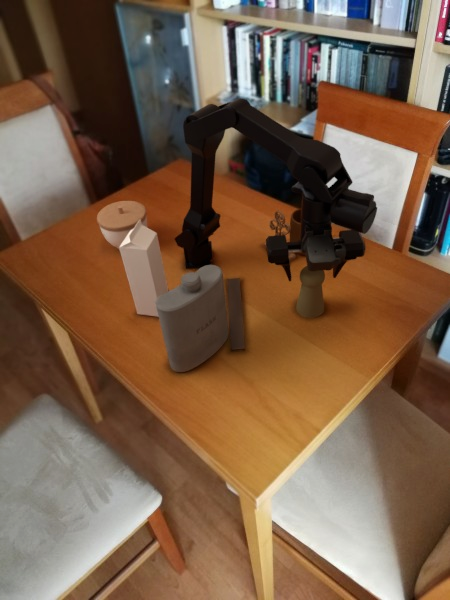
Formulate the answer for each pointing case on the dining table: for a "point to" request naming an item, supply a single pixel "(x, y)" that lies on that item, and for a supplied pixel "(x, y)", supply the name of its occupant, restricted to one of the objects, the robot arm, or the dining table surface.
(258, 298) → the dining table surface
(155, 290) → the milk
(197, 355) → the flask
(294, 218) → the mug
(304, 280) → the olive pepper mill
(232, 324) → the walnut ruler
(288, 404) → the dining table surface
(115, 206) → the lidded bowl
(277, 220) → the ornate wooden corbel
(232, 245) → the dining table surface
